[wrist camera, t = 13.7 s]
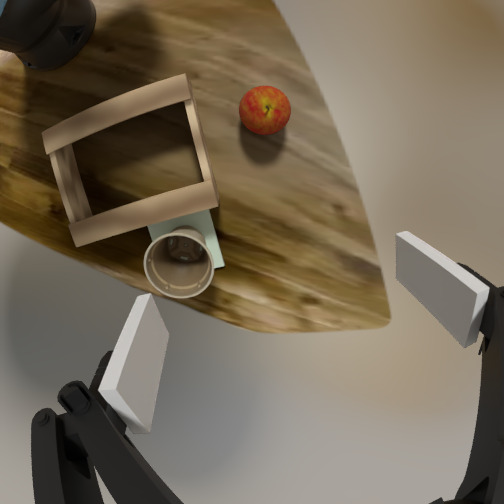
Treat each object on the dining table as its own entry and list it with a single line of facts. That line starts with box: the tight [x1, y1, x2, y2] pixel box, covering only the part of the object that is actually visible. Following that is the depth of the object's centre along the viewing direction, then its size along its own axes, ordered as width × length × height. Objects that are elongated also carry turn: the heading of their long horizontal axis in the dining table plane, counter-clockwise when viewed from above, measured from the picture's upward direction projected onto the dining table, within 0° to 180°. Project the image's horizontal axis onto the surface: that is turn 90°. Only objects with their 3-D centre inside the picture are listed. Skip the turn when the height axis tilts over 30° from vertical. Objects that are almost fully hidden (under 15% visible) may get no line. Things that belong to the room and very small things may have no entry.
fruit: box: [239, 86, 291, 135], centre depth 37 cm, size 7×7×8 cm
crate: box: [41, 74, 219, 247], centre depth 38 cm, size 18×22×7 cm
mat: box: [147, 209, 224, 268], centre depth 46 cm, size 10×10×1 cm
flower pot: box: [144, 226, 214, 298], centre depth 42 cm, size 9×9×9 cm
